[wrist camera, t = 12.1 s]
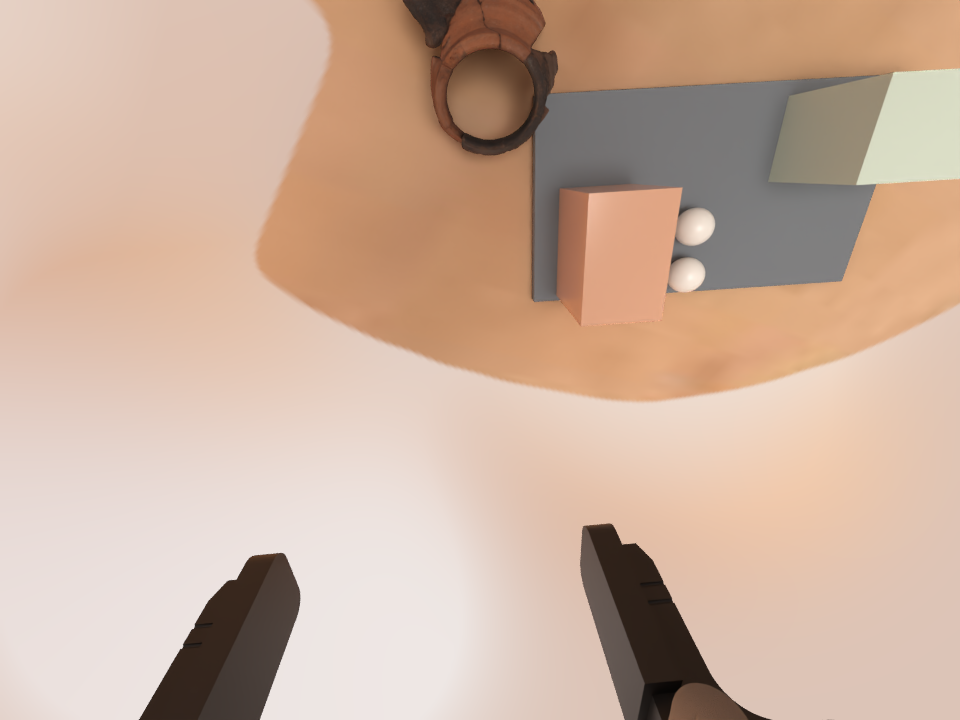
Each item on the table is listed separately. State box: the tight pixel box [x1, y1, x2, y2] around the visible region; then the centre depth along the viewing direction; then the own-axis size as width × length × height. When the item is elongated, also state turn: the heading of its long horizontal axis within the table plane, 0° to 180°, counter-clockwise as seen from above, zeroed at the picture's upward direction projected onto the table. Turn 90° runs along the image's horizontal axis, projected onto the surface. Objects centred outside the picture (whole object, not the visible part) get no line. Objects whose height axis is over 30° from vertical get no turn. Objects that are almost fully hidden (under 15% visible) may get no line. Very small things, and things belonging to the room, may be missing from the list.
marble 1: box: [675, 208, 715, 246], centre depth 32 cm, size 3×3×3 cm
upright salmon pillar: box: [556, 184, 683, 326], centre depth 30 cm, size 9×6×8 cm, turn 3°
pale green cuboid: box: [768, 69, 960, 185], centre depth 28 cm, size 9×6×8 cm, turn 93°
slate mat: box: [532, 75, 879, 302], centre depth 33 cm, size 16×29×1 cm, turn 93°
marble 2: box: [668, 257, 705, 292], centre depth 34 cm, size 3×3×3 cm
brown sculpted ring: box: [403, 0, 558, 155], centre depth 27 cm, size 12×9×8 cm
